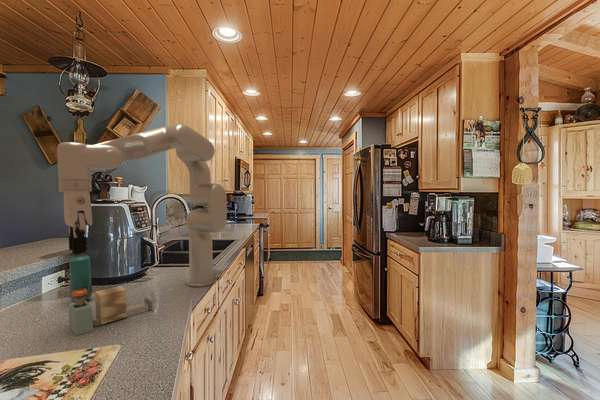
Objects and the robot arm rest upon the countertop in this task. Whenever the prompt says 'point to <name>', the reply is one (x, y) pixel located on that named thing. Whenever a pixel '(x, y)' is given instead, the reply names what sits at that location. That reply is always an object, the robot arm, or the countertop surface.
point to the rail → (131, 310)
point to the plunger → (79, 297)
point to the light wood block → (111, 304)
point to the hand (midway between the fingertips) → (78, 249)
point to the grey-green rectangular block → (80, 318)
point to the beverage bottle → (80, 274)
